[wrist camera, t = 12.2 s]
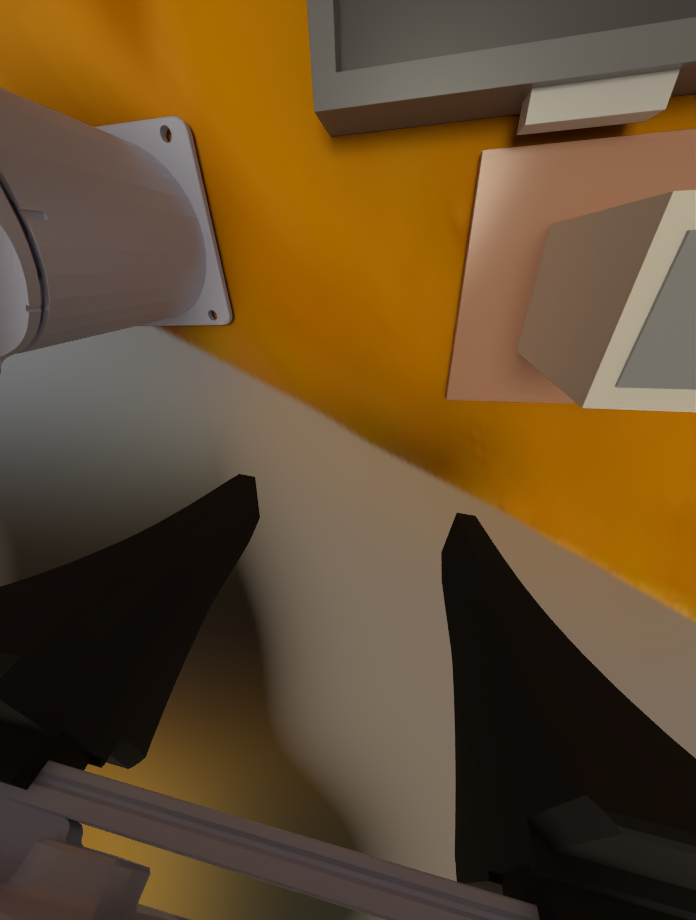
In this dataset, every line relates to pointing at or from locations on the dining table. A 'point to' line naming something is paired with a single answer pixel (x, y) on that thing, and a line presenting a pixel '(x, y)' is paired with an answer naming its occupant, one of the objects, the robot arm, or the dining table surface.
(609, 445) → the dining table surface
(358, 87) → the equipment case
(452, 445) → the dining table surface
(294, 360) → the dining table surface
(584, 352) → the block
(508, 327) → the terracotta tile
